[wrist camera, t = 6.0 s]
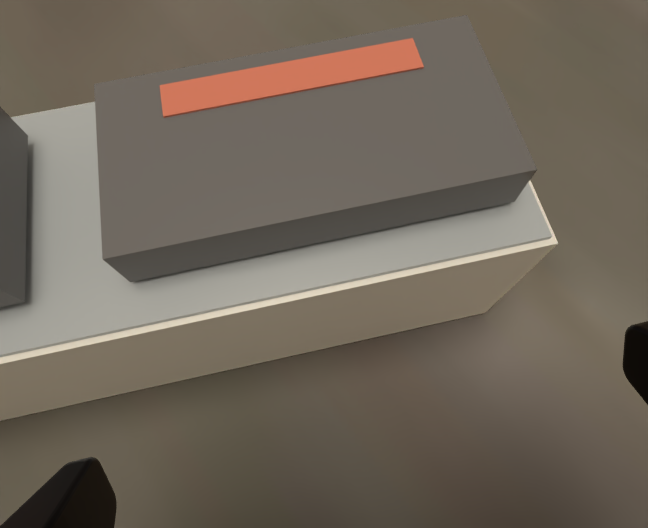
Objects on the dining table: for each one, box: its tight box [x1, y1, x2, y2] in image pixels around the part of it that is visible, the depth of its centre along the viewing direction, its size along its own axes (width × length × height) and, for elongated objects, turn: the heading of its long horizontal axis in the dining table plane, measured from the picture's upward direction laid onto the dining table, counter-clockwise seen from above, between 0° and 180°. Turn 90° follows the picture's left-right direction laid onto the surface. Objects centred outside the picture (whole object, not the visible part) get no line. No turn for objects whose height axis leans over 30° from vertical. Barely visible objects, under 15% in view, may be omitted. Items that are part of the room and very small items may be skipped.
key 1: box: [94, 15, 537, 282], centre depth 15 cm, size 6×12×2 cm, turn 102°
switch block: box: [0, 102, 558, 421], centre depth 19 cm, size 9×29×8 cm, turn 102°
